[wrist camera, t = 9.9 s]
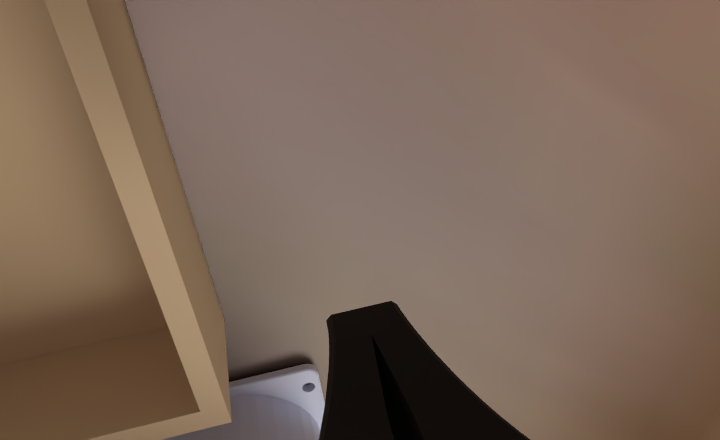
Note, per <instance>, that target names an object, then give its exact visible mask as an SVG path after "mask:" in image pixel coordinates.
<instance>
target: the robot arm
mask: <svg viewBox="0 0 720 440" xmlns="http://www.w3.org/2000/svg"><path fill="white" fill-rule="evenodd" d="M326 321H327V326H328V333H329V372H328V381H327V391H326V400H325V402H324V397H323V393H322V388H321V384H320V379H319V375H318V370H317V368H316V367H315V366H314V365H312V364H302V365H298V366H294V367H290V368H286V369H282V370H277V371H273V372H269V373H265V374H261V375H257V376H253V377H249V378H245V379H240V380H236V381H232V382H229V391H230V405H231V419H232V422H230V423H226V424H222V425H218V426H214V427H210V428H206V429H202V430H198V431H194V432H190V433H186V434H182V435H178V436H174V437H170V438H166V439H162V440H530V439H529V438H527V437H526V436H525V435H523V434H522V433H521V432H519V431H518V430H517V429H516V428H514V427H513V426H512V425H511V424H509V423H508V422H507V421H506V420H504V419H503V418H502V417H501V416H500V415H498V414H497V413H496V412H495V411H494V410H493V409H491V408H490V407H489V406H488V405H487V404H486V403H485V402H483V401H482V400H481V399H480V398H479V397H478V396H477V395H476V394H475V393H474V392H473V391H472V390H471V389H470V388H468V387H467V386H466V385H465V384H464V383H463V382H462V381H461V380H460V379H459V378H458V377H457V376H456V375H455V374H454V373H453V372H452V371H451V370H450V368H449V367H448V366H447V365H446V364H445V363H444V362H443V361H442V360H441V359H440V358H439V357H438V356H437V355H436V354H435V352H434V351H433V350H432V349H431V348H430V347H429V346H428V345H427V343H426V342H425V341H424V340H423V339H422V337H421V336H420V335H419V334H418V333H417V331H416V330H415V329H414V328H413V326H412V325H411V324H410V322H409V321H408V320H407V318H406V317H405V316H404V314H403V313H402V311H401V310H400V308H399V307H398V305H397V304H396V303H394V302H392V301H389V302H384V303H380V304H376V305H372V306H367V307H363V308H359V309H354V310H350V311H346V312H342V313H337V314H333V315H331V316H330V317H329V318H328V319H327V320H326ZM306 383H311V384H309V385H304V384H306Z"/></svg>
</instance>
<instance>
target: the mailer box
mask: <svg viewBox="0 0 720 440" xmlns="http://www.w3.org/2000/svg"><path fill="white" fill-rule="evenodd" d="M230 422H232V419H231V405H230V391H229V377H228V362H227V348H226V334H225V320H224V317H223V313H222V310H221V307H220V304H219V301H218V297H217V294H216V291H215V288H214V285H213V281H212V278H211V275H210V272H209V269H208V265H207V262H206V259H205V256H204V253H203V250H202V246H201V243H200V240H199V237H198V234H197V230H196V227H195V224H194V221H193V218H192V214H191V211H190V208H189V205H188V202H187V199H186V195H185V192H184V189H183V186H182V183H181V179H180V176H179V173H178V170H177V167H176V163H175V160H174V157H173V154H172V151H171V148H170V144H169V141H168V138H167V135H166V132H165V128H164V125H163V122H162V119H161V116H160V112H159V109H158V106H157V103H156V100H155V97H154V93H153V90H152V87H151V84H150V81H149V77H148V74H147V71H146V68H145V65H144V61H143V58H142V55H141V52H140V49H139V46H138V42H137V39H136V36H135V33H134V30H133V26H132V23H131V20H130V17H129V14H128V10H127V7H126V4H125V1H124V0H0V440H162V439H166V438H170V437H174V436H178V435H182V434H186V433H190V432H194V431H198V430H202V429H206V428H210V427H214V426H218V425H222V424H226V423H230Z"/></svg>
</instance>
